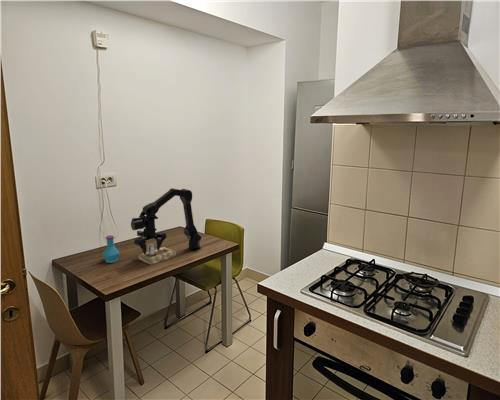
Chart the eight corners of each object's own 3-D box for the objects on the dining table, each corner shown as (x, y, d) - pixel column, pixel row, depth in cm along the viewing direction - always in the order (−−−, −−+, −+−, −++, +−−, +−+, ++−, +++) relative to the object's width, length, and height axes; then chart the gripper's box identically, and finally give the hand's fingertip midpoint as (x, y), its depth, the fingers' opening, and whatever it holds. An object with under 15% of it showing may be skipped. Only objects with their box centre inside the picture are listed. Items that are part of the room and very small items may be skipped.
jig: (163, 251, 219) (163, 246, 218) (175, 255, 211) (175, 251, 210) (138, 259, 205) (138, 254, 204) (150, 264, 198) (150, 259, 197)
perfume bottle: (104, 264, 197) (101, 239, 194) (102, 259, 205) (100, 235, 202) (121, 261, 202) (119, 237, 198) (119, 256, 210) (117, 232, 206)
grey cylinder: (153, 257, 208) (152, 243, 206) (157, 259, 205) (156, 245, 203) (147, 259, 205) (146, 245, 203) (151, 261, 202) (150, 246, 200)
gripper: (155, 221, 213) (156, 245, 216) (127, 228, 199) (129, 253, 202) (166, 224, 206) (167, 249, 209) (139, 231, 192) (140, 258, 195)
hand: (151, 252), depth 204 cm, fingers open, 9 cm apart
